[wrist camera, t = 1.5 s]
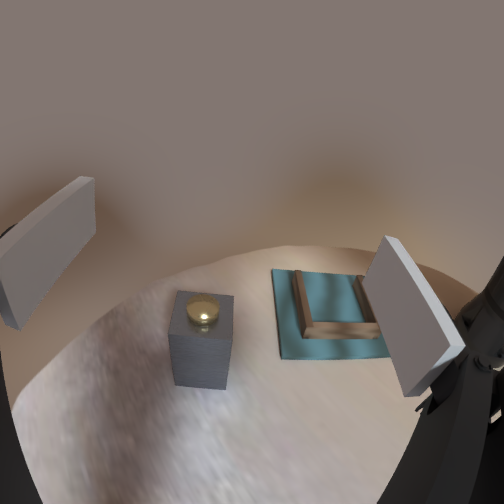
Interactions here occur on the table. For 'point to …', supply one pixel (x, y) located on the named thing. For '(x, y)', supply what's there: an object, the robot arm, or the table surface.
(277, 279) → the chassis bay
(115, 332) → the table surface
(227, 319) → the grey block with knob
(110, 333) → the table surface
